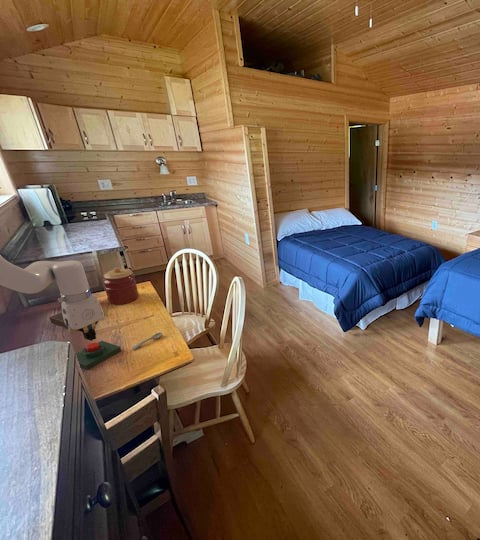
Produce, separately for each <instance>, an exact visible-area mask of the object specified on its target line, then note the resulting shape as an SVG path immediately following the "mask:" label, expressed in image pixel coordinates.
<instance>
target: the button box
mask: <svg viewBox="0 0 480 540" xmlns="http://www.w3.org/2000/svg"><path fill="white" fill-rule="evenodd" d="M97 343H98V344H99V347H100V348H99V349H98V350H96V351H93V352H88V351H87V348H86V346H84V348H83V349H82V350H80V351H78V352H76V353H75V354H76V355H77V358H78V361H79V364H80V367H79V368H81V369H84V370H87V371H89V370H91V369H92V368H94V367H97V366H98V365H100V364H101V363H103V362H105V361H107V360H108V359H110V358H112V357H113V356H116V355H117V354H119V353H121V352H122V347H121V346H119V345H117V344H113V343H111V342H108V341H105V340H100V341H98V342H97Z"/></svg>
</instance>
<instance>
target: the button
mask: <svg viewBox="0 0 480 540" xmlns="http://www.w3.org/2000/svg"><path fill="white" fill-rule="evenodd" d="M85 347H86V348H87V351H88V352H93V351H96V350H98V349H99V348H100V347H99V344H98V342H91V343H89V344H87V345H86V346H85Z"/></svg>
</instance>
